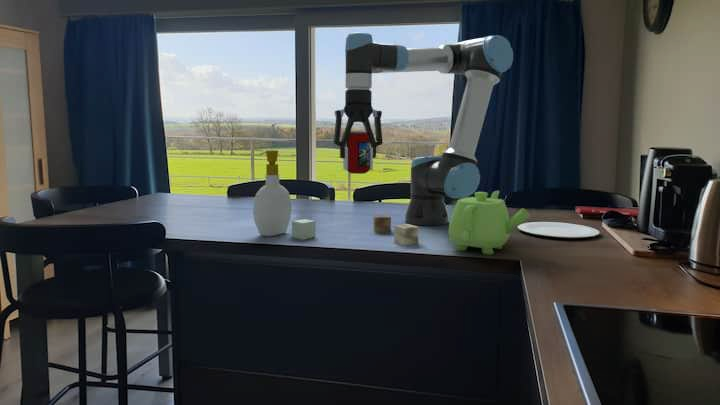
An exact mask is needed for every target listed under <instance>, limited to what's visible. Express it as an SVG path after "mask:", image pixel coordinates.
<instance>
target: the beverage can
mask: <svg viewBox="0 0 720 405" xmlns="http://www.w3.org/2000/svg"><path fill="white" fill-rule="evenodd" d="M346 147H348V170H346V172H348V173H349V174H353V175H354V174H355V175H356V174H357V175H363V174H367V173H368V172H370V170H369V164H370V147H371V145H370V137H369V135H368V133H367V132H366V131H350V134H349V137H348V140H347V143H346Z"/></svg>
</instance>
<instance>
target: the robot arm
mask: <svg viewBox="0 0 720 405" xmlns="http://www.w3.org/2000/svg"><path fill="white" fill-rule="evenodd" d="M344 51H345V86H344V88H345V89H346V90H345V93H344V94H345V98H344V99H345V100H344V101H345V105H344V108H343V109H338V110H337V109H336V110H335V111H334V116H335V126H334V132H333V134H334V135H333V144H334V146H338V147H339V158H340V159H342V160H343V161H342V164H343V166H342V167H343V168H342V170H344V171H347V170H348V147H347V140H348V137H349V134H350V132H352V128H353V125H354V123H362V125H363V127H364V130H365V132H367V133H368V135H369V137H370V164H369V171H372V170H373V169H374V164H373V162H374V159H376V157H377V147H378V146H382V145H383V133H382V123H381V122H382V120H381V118H382V114H383V112H382V110H377V109H374V108H373V105H372V101H373V100H372V90H371V88H372V87H373V84H372V82H373V80H372V79H373V77H372V74H380V73H381V74H384V73H385V74H386V73H413V72H439V73H440V74H443V75H444V74H451V75H453V74H454V75H463V76H465V78H466V79H467V82H466V85H465V87H464V92H463V95H462V99H461V103H460V106H459V110H458V114H457V116H456V121H455V124H454V128H453V131H452V135H451V138H450V139H451V140H450V142H449V146H448V148H447V149H446V150H444V151H443V152H442V154H441V155H433V156H420V157H415V158H413V159H412V161H411V166H410V201H409V204H408V206H407V209H406V212H405V215H404V216H405V219H404V222H405V223H406V224H410V225H414V226H441V225H442V226H443V225H447V224H448V223H449V214H448V211H447V207H446V204H445V197H449V198H452V199H463V198H468V197H471V196H472V195H473V194H475V192H476V191H477V189H478V187H479V185H480V182H481V173H480V169H479V168H478V166H477V163H478V159H477V158H476V157H475V156H476V155H475V153H476V150H477V147H478V142H479V140H480V135H481V132H482V128H483V124H484V121H485V119H486V118H485V117H486V113H487V110H488V106H489V103H490V100H491V95H492V92H493V89H494V86H495V85H497V84H498V83H500V81H501V77H502V73H504V72H507V71H508V70H509V69H510V68H511V67H512V64H513V61H514V51H513V48H512V47H511V44H510V41H509V40H508V39H507V38H506V37H504V36H502V35H499V34H498V35H497V34H496V35H488V36H484V37H479V38H473V39H467V40H463V41H461V42H460V41H459V42H456V43H451V44H442V45H440V46H439V47H417V48H415V47H414V48H410V47H409V48H407V47H406V46H404V45H401V44H397V43H383V42H382V43H381V42H374V41H373V35H372V34H370V33H368V32H351V33H348V34H347V36H346V38H345V49H344ZM344 114H345V115H346V116H347V118H348V119H347V122H346V125H345V127H344V132H343V134H342V137H341V131H342V121H343V117H344ZM371 115H372V117H373V121H374V131H373V129H372V126H371V122H370V119H369V118H370V117H371ZM373 132H375V136H374V134H373Z"/></svg>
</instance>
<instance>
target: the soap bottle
mask: <svg viewBox="0 0 720 405" xmlns="http://www.w3.org/2000/svg"><path fill="white" fill-rule="evenodd" d="M263 154H264V155H265V154H266V159H267V164H266V165H265V167H266V168H265V169H266V171H265V172H266V173H265V183H264V184H263V186H262V187H261V188H259V190H258V191H257V192H256V194H255V196H254V201H253V220H254V225H255V226H256V228H257V231H258V234H259V235H260V236H263V237H266V238H267V237H274V236H279V235H283V234H285V233H286V232H287V231H288V227H289V224H290V220H291V217H292V199H291V195H290V192H289V191H288V189H286V188H285V187H284V186H283V185H281V184H280V174H279V164H277V162H278V156H279V150H277V149H269V150H267V149H266V150H265V151H264V152H261V153H259V155H263Z"/></svg>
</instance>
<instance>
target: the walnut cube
mask: <svg viewBox="0 0 720 405" xmlns="http://www.w3.org/2000/svg"><path fill="white" fill-rule="evenodd" d="M391 228H392V217H391V215H390V214H373V231H374V233H376V234H377V233H382V234H384V233H386V234H387V233H390V234H391V233H392V231H391V230H392V229H391Z"/></svg>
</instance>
